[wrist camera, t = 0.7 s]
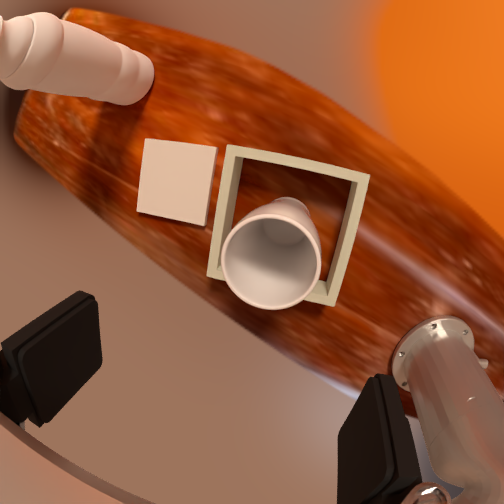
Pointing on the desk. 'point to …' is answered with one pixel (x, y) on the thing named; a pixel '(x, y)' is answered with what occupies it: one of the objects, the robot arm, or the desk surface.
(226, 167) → the beige square frame
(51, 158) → the desk surface
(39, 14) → the water bottle
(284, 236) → the drinking glass
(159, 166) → the ceramic tile
